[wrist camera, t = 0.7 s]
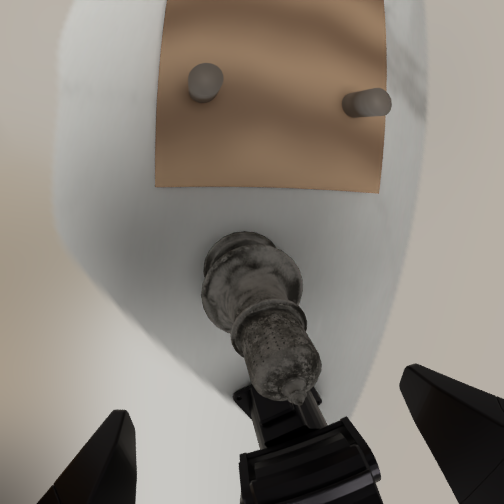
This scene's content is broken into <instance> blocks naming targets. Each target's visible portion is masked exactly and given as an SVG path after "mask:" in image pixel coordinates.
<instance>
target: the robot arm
mask: <svg viewBox="0 0 504 504" xmlns="http://www.w3.org/2000/svg"><path fill="white" fill-rule="evenodd" d="M399 386H400V390H401V392H402V395H403V397H404V399H405V402H406V404H407V406H408V408H409V410H410V413H411V415H412V417H413V420H414V422H415V424H416V426H417V427H418V429H419V431H420V433H421V434H422V436H423V438H424V440H425V441H426V443H427V445H428V447H429V449H430V450H431V452H432V454H433V456H434V457H435V459H436V461H437V463H438V465H439V467H440V468H441V470H442V472H443V474H444V476H445V478H446V480H447V482H448V484H449V486H450V487H451V489H452V491H453V493H454V495H455V497H456V499H457V501H458V503H459V504H504V399H502V398H500V397H496V396H495V395H492V394H490V393H487V392H484V391H482V390H479V389H477V388H474V387H472V386H469V385H467V384H465V383H462V382H460V381H457V380H455V379H452V378H450V377H447V376H445V375H443V374H440V373H437V372H435V371H433V370H431V369H428V368H426V367H424V366H421V365H419V364H412V365H409V366H407V367H406V368H405V369H404V372H403V375H402V378H401V381H400V385H399ZM306 393H307V395H306V398H305V401H304V402H303V404H302V405H301V406H299V405H296V404H294V403H290V402H289V401H288V400H285V401H276V400H271V399H269V398H266V397H264V396H262V395H260V394H259V393H258V392H257V391H256V389H255V388H254V386H253V385H251V386H248V387H246V388H244V389H242V390H240V391H238V392H235V393H234V394H233V400H234V401H235V402H236V403H237V405H238V406H239V407H240V408H241V409H242V410H243V411H244V412H245V413H246V414H247V415H248V416H249V417H250V418H251V419H252V421H253V425H254V428H255V432H256V436H257V440H258V443H259V447H260V450H257V451H254V452H250V453H243V454H240V463H239V472H240V483H241V498H240V504H383V501H382V499H381V496H380V494H379V491H378V488H377V486H376V482H378V481H380V480H381V475H380V470H379V467H378V464H377V462H376V459H375V457H374V455H373V453H372V451H371V449H370V448H369V446H368V445H367V443H366V442H365V440H364V439H363V438H362V436H361V435H360V434H359V432H358V431H357V430H356V428H355V427H354V426H353V424H352V423H351V421H350V420H349V419H348V417H347V416H346V417H344V418H342V419H340V421H337V422H335V423H333V424H330V425H327V423H326V421H325V419H324V417H323V415H322V413H321V411H320V409H319V407H318V405H320V404H321V403H322V400H321V398H320V396H319V395H318V393H317V391H316V389H315V388H314V386H313V387H312V388H311V389H310V390H309V391H307V392H306ZM136 482H137V466H136V439H135V428H134V425H133V423H132V420H131V418H130V416H129V413H128V412H127V411H126V410H113V411H112V412H111V414H110V415H109V416H108V417H107V418H106V420H105V421H104V422H103V423H102V425H101V426H100V427H99V428H98V429H97V431H96V432H95V433H94V434H93V436H92V437H91V438H90V439H89V440H88V442H87V443H86V444H85V445H84V447H83V448H82V449H81V450H80V452H79V453H78V454H77V455H76V456H75V458H74V459H73V460H72V461H71V463H70V464H69V465H68V466H67V467H66V469H65V470H64V471H63V472H62V474H61V475H60V476H59V477H58V479H57V480H56V481H55V483H54V485H52V486H51V487H50V488H49V490H48V491H47V492H46V493H45V495H44V496H43V497H42V498H41V499H40V500H39V501H38V503H37V504H135V499H136Z"/></svg>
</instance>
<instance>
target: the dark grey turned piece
mask: <svg viewBox="0 0 504 504" xmlns="http://www.w3.org/2000/svg"><path fill="white" fill-rule="evenodd" d="M204 277H205V279H204V282H203V286H202V294H201V297H202V303H203V308H204V310H205V312H206V314H207V316H208V318H209V319H210V320H211V321H212V322H213V323H214V324H215V325H216V326H217V327H218V328H220V329H222V330H223V331H225V332H227V333H230V334H231V342H232V345H233V347H234V349H235V351H236V352H237V353H238V354H239V355H241V356H242V357H244V358H245V362H246V365H247V369H248V373H249V376H250V380H251V383H252V384H253V386H254V388H255V389H256V391H257V392H258V393H259V394H260V395H262V396H264V397H266V398H269V399H271V400H276V401H285V400H288V401H289V402H290V403H294V404H296V405H299V406H301V405H302V404H303V402H304V401H305V398H306V395H307V393H306V392H307V391H309V390H310V389H311V388H312V387H313V386H314V384H315V383H316V382H317V380H318V377H319V375H320V372H321V365H322V364H321V360H320V356H319V353H318V352H317V350H316V348H315V347H314V345H313V343H312V342H311V340H310V338H309V337H308V335H307V333H306V329H307V320H306V317H305V314H304V312H303V311H302V309H301V308H300V307H299V306H298V305H299V303H300V299H301V296H302V292H303V284H302V277H301V274H300V271H299V268H298V267H297V265H296V264H295V262H294V261H293V259H292V258H291V257H289V256H288V255H287V254H285V253H284V252H283V251H281V250H279V249H277V248H276V247H275V245H274V244H273V243H272V242H271V241H270V240H269V239H267V238H266V237H265V236H262V235H260V234H257V233H254V232H246V231H244V232H237V233H233V234H230V235H228V236H225V237H223V238H222V239H221V240H219V241H218V242H217V243H215V245H214V246H213V247H212V248H211V250H210V251H209V252H208V255H207V257H206V259H205V263H204Z"/></svg>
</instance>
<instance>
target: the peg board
mask: <svg viewBox="0 0 504 504" xmlns="http://www.w3.org/2000/svg"><path fill="white" fill-rule="evenodd" d="M386 80H387V62H386V28H385V12H384V0H167V4H166V12H165V19H164V27H163V35H162V44H161V54H160V66H159V78H158V93H157V111H156V140H155V187H275V188H301V189H321V190H338V191H353V192H366V193H378V194H379V188H380V179H381V170H382V159H383V147H384V133H385V115H387V114H388V113H389V112H390V110H391V105H392V103H391V98H390V96H389V94H388V93H387V92H386Z"/></svg>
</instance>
